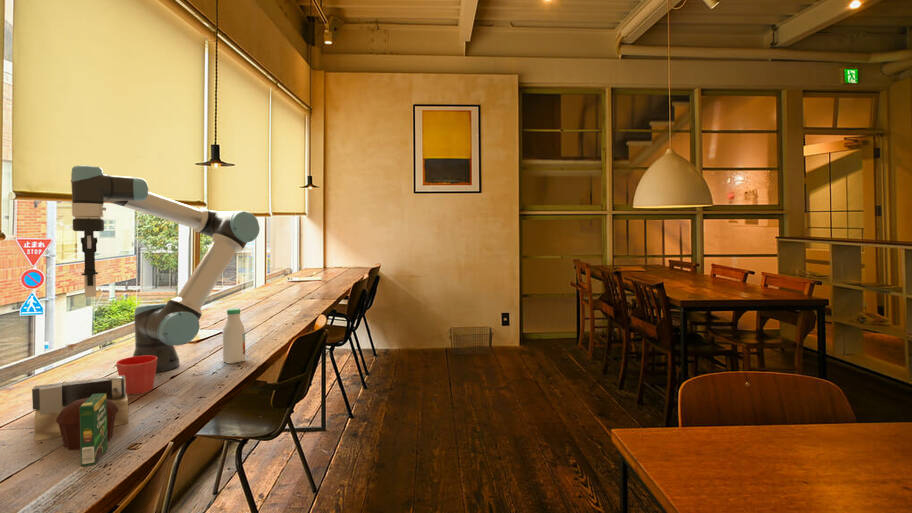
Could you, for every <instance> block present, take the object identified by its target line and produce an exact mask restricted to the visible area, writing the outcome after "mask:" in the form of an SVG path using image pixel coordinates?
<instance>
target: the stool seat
mask: <svg viewBox="0 0 912 513" xmlns="http://www.w3.org/2000/svg"><path fill="white" fill-rule="evenodd" d="M110 400H111V401H113V402H114V403H115V404H116V405H117V407H118V408H119V411H118V412H117V413H116V415H115V421H114V427H116V426H119V425H125V424H129V401H128V400H129V399H128V394H126V396H125V397H124V398H119V399H110ZM66 406H68V405H66ZM66 406H62V409H63V408H65V407H66ZM60 412H61V411H60ZM60 412H54V413H49V414H43V415H40V409H36V410H35V412H34V434H35V435H34V441H35V442H37V441H43V440H48V439H53V438H58V437H62V436H61V432H60V428H59V424H58V423H57V422H56V418H57V417H58V415H59V413H60Z"/></svg>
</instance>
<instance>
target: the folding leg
mask: <svg viewBox="0 0 912 513" xmlns="http://www.w3.org/2000/svg"><path fill="white" fill-rule="evenodd" d="M57 385H62V406H66V405H69V404H71V403H73V402H74V401H76V400H80V399H83V398H88V397H90V396H91V395H92V394H99V393H106V399H109V400H110V399H119V398H124V397H125V396H126V395H127V394H126V377H125V375H124V376H119V375H116V376H115V375H114V376H108V377H101V378H92V379H84V380H83V379H82V380H75V381H74V380H73V381H67V382H59V383H58V382H57V383H49V384H41V385H40V384H39V385H35V386H34V387H32V389H31V390H32V391H31V394H32V395H31V396H32V397H31V398H32V399H31V400H32V411H36V409H40V395H39V389H40V388H43V387H50V386H57Z"/></svg>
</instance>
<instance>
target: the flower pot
mask: <svg viewBox="0 0 912 513" xmlns="http://www.w3.org/2000/svg"><path fill="white" fill-rule="evenodd" d="M156 366H157V357H156V356H150V355H146V356H135V357H133V356H130V357H125V358H121V359H119V360H117V361H116V370H117V373H118V375H117V376H124V375H125V377H126V395H129V394H130V395H131V394H132V395H140V394H144V393H147V392H150V391H151V390H153V389H154V384H155V380H156V378H155V377H156V373H157V372H156Z"/></svg>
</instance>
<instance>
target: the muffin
mask: <svg viewBox="0 0 912 513" xmlns="http://www.w3.org/2000/svg"><path fill="white" fill-rule="evenodd" d="M88 398H89V397H88ZM88 398H83V399H80V400H76V401H74V402H73V403H71V404H69V405H68V406H66V407H65V408H63V409H62V411H61V412H60V413H59V415H58V417H57V418H56V422H57V423H58V424H59V428H60V432H61V436H60V437H61V440H62V444H63V447H64V448H66V449H68V450H69V451H73V450H75V451H76V450H77V451H78V450H80V451H81V447H80V406H81V405H82V404H83V403H84V402H85V401H86V400H87V399H88ZM106 404H107V434H108V436H107V438H108V442H110V439H112V437H113V432H114V428H115V426H114V421H115V415H116V413H117V412H118V411H119V408H118V407H117V405H116V404H115V403H114V402H113V401H111V400H109V399H106Z"/></svg>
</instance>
